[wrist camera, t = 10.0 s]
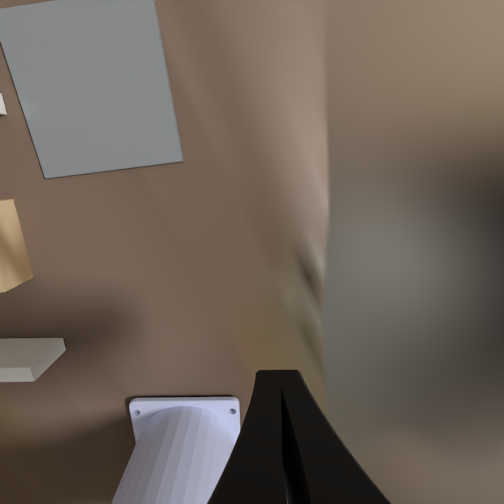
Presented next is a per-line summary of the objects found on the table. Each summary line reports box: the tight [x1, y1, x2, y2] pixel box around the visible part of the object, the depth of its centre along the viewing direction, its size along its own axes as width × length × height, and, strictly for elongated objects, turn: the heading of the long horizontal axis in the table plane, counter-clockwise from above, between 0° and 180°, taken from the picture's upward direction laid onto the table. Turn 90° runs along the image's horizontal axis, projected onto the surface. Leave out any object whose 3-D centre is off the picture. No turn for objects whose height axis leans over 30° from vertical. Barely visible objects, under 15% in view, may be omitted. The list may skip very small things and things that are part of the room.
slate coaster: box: [0, 0, 184, 178], centre depth 15 cm, size 8×8×1 cm
